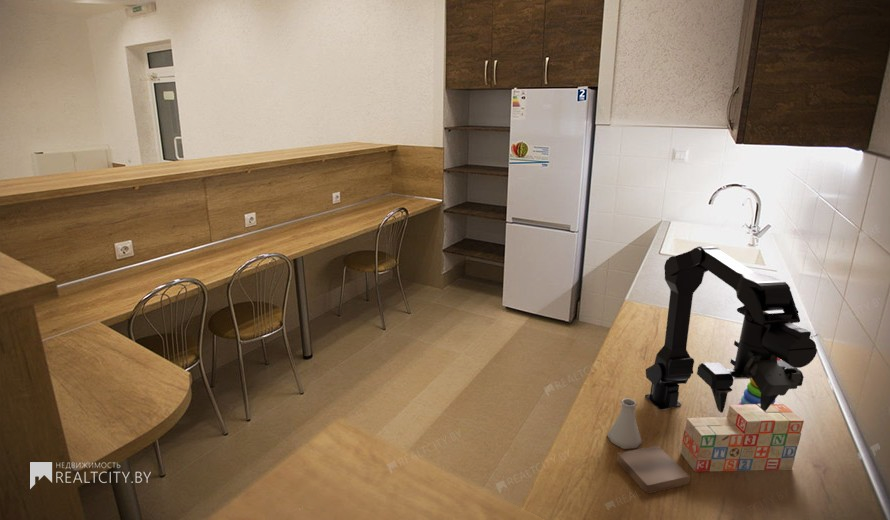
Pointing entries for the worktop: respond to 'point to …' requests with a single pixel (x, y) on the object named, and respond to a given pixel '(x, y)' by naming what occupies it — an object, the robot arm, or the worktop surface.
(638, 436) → the flask
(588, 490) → the worktop surface
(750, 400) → the stacking toy
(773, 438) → the stack of blocks
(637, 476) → the plinth
